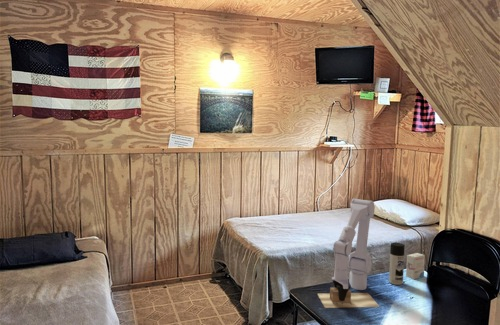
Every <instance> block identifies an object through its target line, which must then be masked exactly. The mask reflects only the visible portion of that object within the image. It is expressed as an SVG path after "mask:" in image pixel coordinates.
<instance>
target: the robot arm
mask: <svg viewBox="0 0 500 325" xmlns="http://www.w3.org/2000/svg"><path fill="white" fill-rule="evenodd" d="M349 208H350V216H349V219H348V223H347V225H346V226H344V227H343V229H342V231H341V233H340V236H339V238H338V240H337V241H335V242H334V243H333V247H332V251H333V257H334V271H333V276H332V277H331V281H332V283H333V287H337V289H338V294H339V300H340V301H344V300H345V297H346V294H347V292H348V290H350V288H351V289H354V290H357V291H363V290H366V289H367V286H368V274H369V273H371V270H372V266H373V264H372V257H371V255H370V254H369V253H367V248H368V247H367V245H368V239H369V229H370V223H371V222H370V221H371V219H373V218H374V215H375V208H376V206H375V203H374V201H373V200H366V199H359V198H355V197H354V198H352V199H351V201H350V207H349ZM357 226H358V227H357ZM356 228H357V232H356V230H355V229H356ZM356 234H357V237H356V245H355V250H354V251H352V248H353V242H354V238H355V236H356ZM349 270H350V271H349Z"/></svg>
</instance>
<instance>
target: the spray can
mask: <svg viewBox="0 0 500 325" xmlns="http://www.w3.org/2000/svg"><path fill="white" fill-rule="evenodd" d="M405 247H406V246H405V244H403V243H401V242H397V241H396V242H391V243H390V250H389V251H390V252H389V269H388V270H389V271H388V272H389V273H388V274H389V275H388V282H389V283H390V284H391V285H394V286H401V285H403V283H404V271H405V270H404V269H405V268H404V266H405V265H404V264H405Z"/></svg>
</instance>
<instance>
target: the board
mask: <svg viewBox="0 0 500 325" xmlns="http://www.w3.org/2000/svg"><path fill="white" fill-rule="evenodd" d="M317 296H318V298H319V299H320V302H321V303H322V305H323V307H324V309H326V308H327V309H328V308H332V309H333V308H379V307H381V306H380V305H379V304H378V303H377V301H376V300H375V299H374V298H373V297H372V295H370V293H369V292H351V303H332V301H331V299H330V292H329V293H324V292H322V293H317Z"/></svg>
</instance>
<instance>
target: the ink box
mask: <svg viewBox="0 0 500 325" xmlns="http://www.w3.org/2000/svg"><path fill="white" fill-rule="evenodd" d="M425 260H426V255H425V254H422V253H419V252H414V253H411V254H406V266H405V267H406V269H405V276H406V277H407V278H410V279H412V280H416V279H419V278H423V277H425V262H426V261H425Z"/></svg>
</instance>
